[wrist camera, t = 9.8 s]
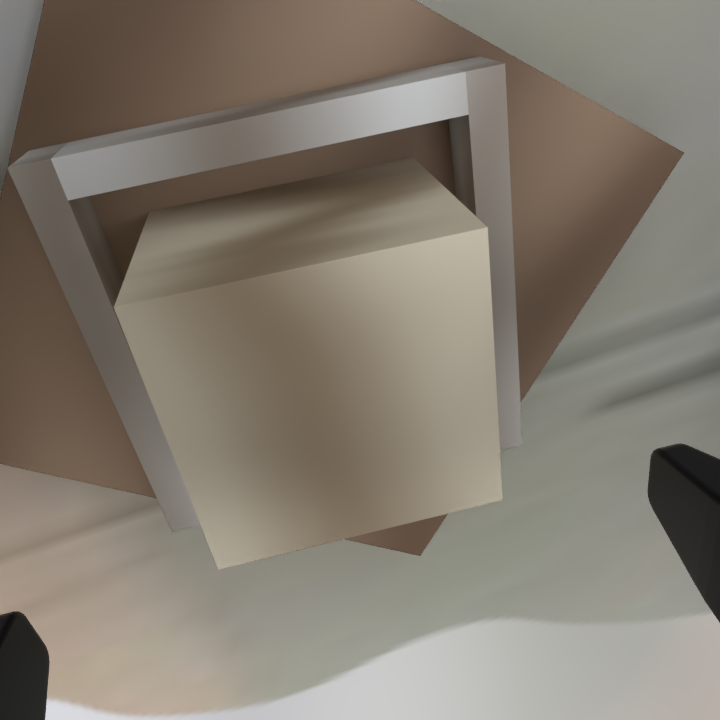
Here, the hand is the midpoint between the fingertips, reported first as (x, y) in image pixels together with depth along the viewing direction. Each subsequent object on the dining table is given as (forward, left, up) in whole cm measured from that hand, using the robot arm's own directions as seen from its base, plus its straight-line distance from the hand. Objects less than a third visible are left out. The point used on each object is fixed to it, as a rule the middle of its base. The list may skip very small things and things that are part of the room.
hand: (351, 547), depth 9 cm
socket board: (0, 0, -9) cm, 9 cm away
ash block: (0, 0, -8) cm, 8 cm away
